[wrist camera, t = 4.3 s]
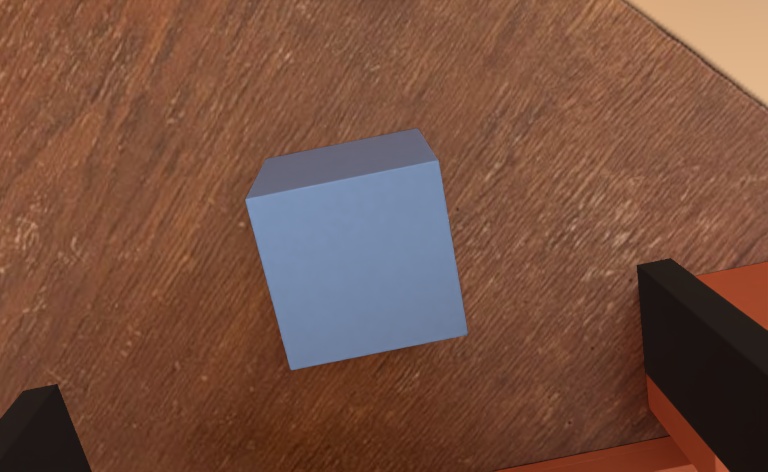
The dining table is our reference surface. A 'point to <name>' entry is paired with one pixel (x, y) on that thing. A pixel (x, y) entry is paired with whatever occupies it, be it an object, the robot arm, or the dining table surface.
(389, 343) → the blue block
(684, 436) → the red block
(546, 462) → the clay tray
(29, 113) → the dining table surface
